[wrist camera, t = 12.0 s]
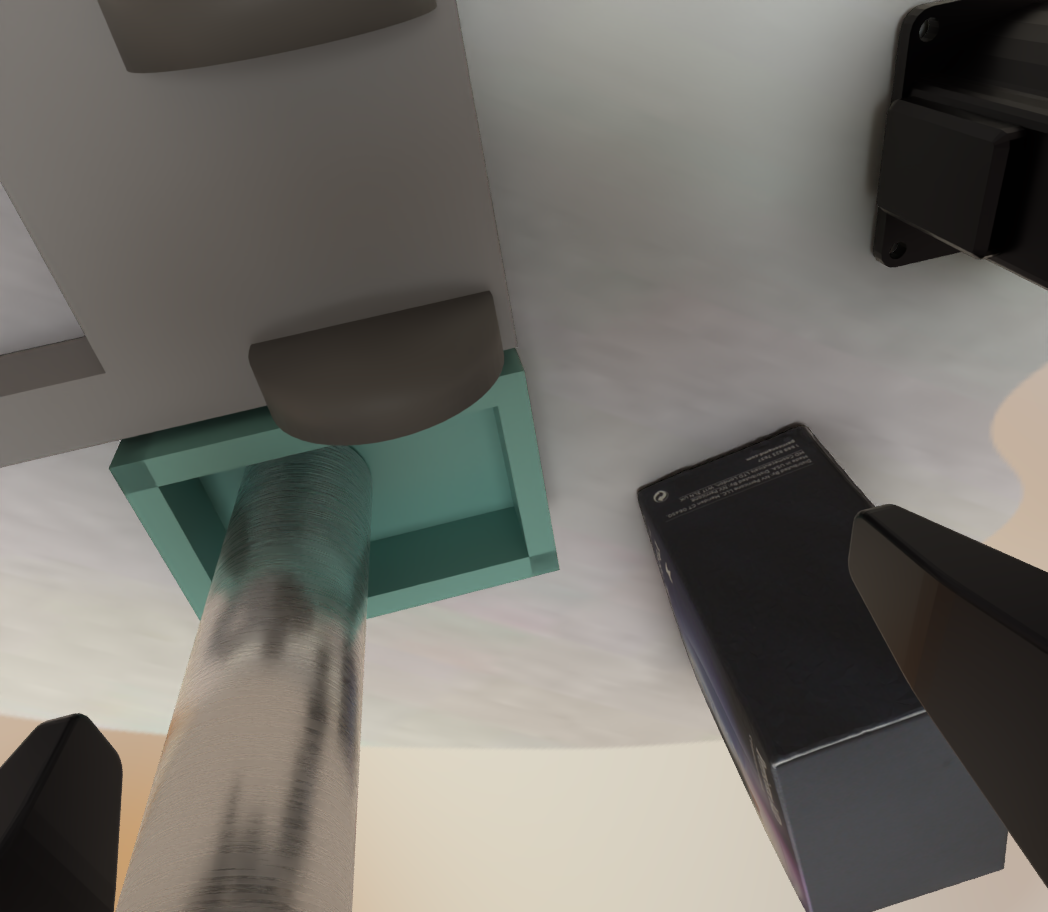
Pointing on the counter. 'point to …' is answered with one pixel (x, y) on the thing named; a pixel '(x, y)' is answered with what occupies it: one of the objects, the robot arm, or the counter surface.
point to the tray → (397, 503)
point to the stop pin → (268, 706)
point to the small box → (813, 681)
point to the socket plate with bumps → (249, 218)
